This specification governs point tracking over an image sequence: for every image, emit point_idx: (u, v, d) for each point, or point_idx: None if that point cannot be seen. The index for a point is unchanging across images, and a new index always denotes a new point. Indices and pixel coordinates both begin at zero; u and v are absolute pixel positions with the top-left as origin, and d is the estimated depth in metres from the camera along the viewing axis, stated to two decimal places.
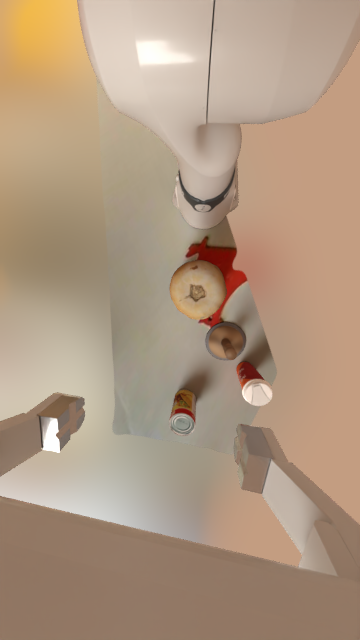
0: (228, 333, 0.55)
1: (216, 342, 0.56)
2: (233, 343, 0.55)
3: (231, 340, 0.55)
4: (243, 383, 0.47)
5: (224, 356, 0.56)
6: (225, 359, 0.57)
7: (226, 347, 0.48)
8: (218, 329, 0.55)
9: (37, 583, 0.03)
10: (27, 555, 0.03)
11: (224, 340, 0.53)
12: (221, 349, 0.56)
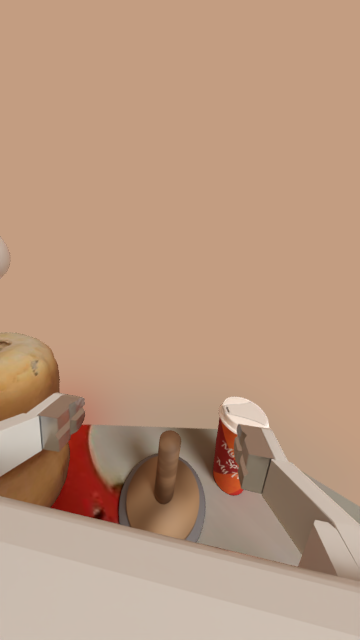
0: (148, 477, 0.28)
1: (155, 516, 0.23)
2: None
3: None
4: (232, 440, 0.25)
5: (194, 507, 0.25)
6: (203, 511, 0.25)
7: (158, 454, 0.24)
8: (129, 497, 0.25)
9: (37, 583, 0.03)
10: (27, 555, 0.03)
11: (155, 484, 0.25)
12: (176, 509, 0.24)
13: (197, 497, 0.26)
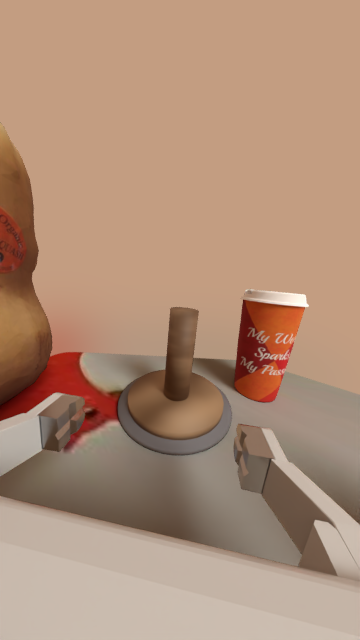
0: (154, 382, 0.22)
1: (167, 409, 0.17)
2: None
3: None
4: (263, 317, 0.19)
5: (217, 404, 0.19)
6: (229, 411, 0.19)
7: (169, 328, 0.18)
8: (132, 395, 0.19)
9: (37, 583, 0.03)
10: (27, 555, 0.03)
11: (165, 379, 0.19)
12: (194, 405, 0.18)
13: (220, 397, 0.20)
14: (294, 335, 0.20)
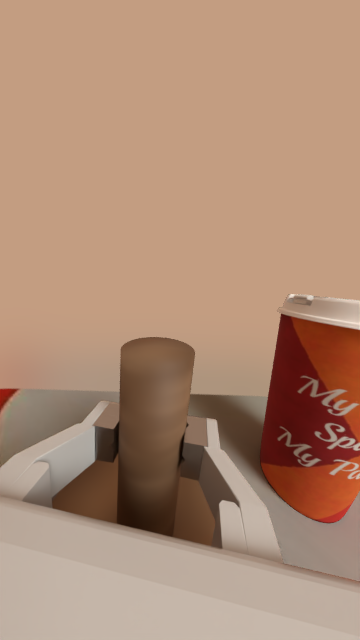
0: (107, 484, 0.11)
1: None
2: None
3: None
4: (345, 360, 0.08)
5: None
6: None
7: None
8: None
9: (37, 583, 0.03)
10: (27, 555, 0.03)
11: None
12: None
13: None
14: None
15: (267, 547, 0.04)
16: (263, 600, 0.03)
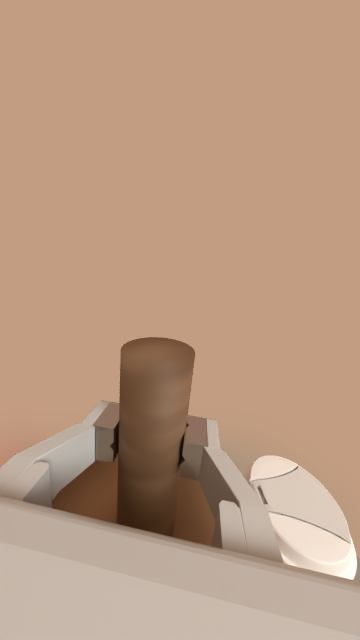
0: (106, 484, 0.11)
1: None
2: None
3: None
4: None
5: None
6: None
7: None
8: None
9: (37, 583, 0.03)
10: (27, 555, 0.03)
11: None
12: None
13: None
14: None
15: (267, 547, 0.04)
16: (263, 600, 0.03)
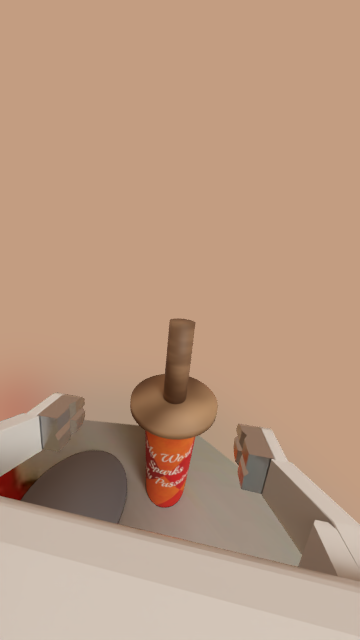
0: (155, 386, 0.23)
1: (166, 411, 0.19)
2: None
3: None
4: (151, 435, 0.20)
5: (212, 407, 0.21)
6: None
7: (169, 338, 0.20)
8: (134, 398, 0.21)
9: (37, 583, 0.03)
10: (27, 555, 0.03)
11: (164, 384, 0.21)
12: (190, 407, 0.20)
13: (214, 401, 0.22)
14: (183, 453, 0.20)
15: None
16: (263, 600, 0.03)
